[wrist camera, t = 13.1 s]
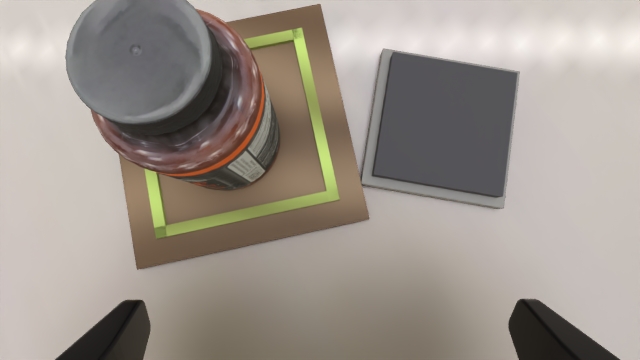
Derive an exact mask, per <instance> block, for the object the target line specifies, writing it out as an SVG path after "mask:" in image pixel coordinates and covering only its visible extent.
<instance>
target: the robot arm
mask: <svg viewBox="0 0 640 360" xmlns="http://www.w3.org/2000/svg"><path fill="white" fill-rule="evenodd" d="M508 325H509V332H510V335H511V338H512V341H513V344H514V347H515V349H516V352H517V355H518V358H519V360H620V359H619V358H617V357H616V356H615V355H613V354H612V353H610V352H609V351H608V350H606V349H605V348H604V347H602V346H601V345H599V344H598V343H597V342H595V341H594V340H593V339H591V338H590V337H588V336H587V335H586V334H584V333H583V332H582V331H580V330H579V329H577V328H576V327H575V326H573V325H572V324H571V323H569V322H568V321H567V320H565V319H564V318H562V317H561V316H560V315H558V314H557V313H556V312H554V311H553V310H551V309H550V308H549V307H547V306H546V305H545V304H543V303H542V302H540V301H539V300H537V299H520V300H518V301H517V303H516V305H515V308H514V310H513V312H512V315H511V317H510V319H509V324H508ZM149 334H150V320H149V317H148V313H147V309H146V306H145V303H144V302H143V301H142V300H125V301H123V302H121V303H120V304H119V305H118V306H117V307H115V308H114V309H113V310H112V311H111V312H110V313H108V314H107V315H106V316H105V317H104V318H103V319H102V320H100V321H99V322H98V323H97V324H96V325H95V326H93V327H92V328H91V329H90V330H89V331H88V332H86V333H85V334H84V335H83V336H82V337H81V338H79V339H78V340H77V341H76V342H75V343H74V344H73V345H71V346H70V347H69V348H68V349H67V350H66V351H64V352H63V353H62V354H61V355H60V356H59V357H57V358H56V359H55V360H143V358H144V354H145V350H146V346H147V342H148V338H149Z"/></svg>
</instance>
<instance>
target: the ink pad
mask: <svg viewBox="0 0 640 360" xmlns="http://www.w3.org/2000/svg"><path fill="white" fill-rule="evenodd" d="M519 74H520V72H519V71H514V70H508V69H502V68H496V67H490V66H484V65H478V64H472V63H466V62H460V61H454V60H449V59H443V58H437V57H431V56H425V55H419V54H413V53H407V52H401V51H395V50H389V49H384V48H383V50H382V53H381V57H380V63H379V69H378V75H377V81H376V88H375V94H374V100H373V106H372V112H371V118H370V125H369V131H368V137H367V143H366V149H365V155H364V161H363V168H362V174H361V184H362V185H363V186H369V187H375V188H380V189H386V190H392V191H398V192H403V193H409V194H415V195H421V196H426V197H432V198H438V199H444V200H450V201H455V202H461V203H467V204H473V205H478V206H484V207H490V208H496V209H500V208H504V203H505V194H506V186H507V177H508V169H509V160H510V151H511V143H512V134H513V126H514V117H515V109H516V100H517V91H518V83H519Z"/></svg>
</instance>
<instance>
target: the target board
mask: <svg viewBox="0 0 640 360" xmlns="http://www.w3.org/2000/svg"><path fill="white" fill-rule="evenodd" d="M226 23H227V24H229V25H230V26H231V27H232V28H233V29H234V30H235V31H236V32H237V33H238V34H239V35H240V36H241V37H242V38H243V40H244V41H245V42H246V44H247V45H248V47H249V48H250V50H251V52H252V53H253V55H254V57H255V59H256V62H257V64H258V67H259V69H260V72H261V74H262V77H263V80H264V83H265V85H266V88H267V91H268V94H269V97H270V99H271V102H272V105H273V107H274V111H275V113H276V116H277V119H278V123H279V129H280V147H279V151H278V155H277V157H276V160H275V162H274V163H273V165H272V167H271V168H270V170H269V171H268V172H267V173H266V174H265V175H264V176H263V177H262V178H261V179H259V180H258V181H256V182H255V183H253V184H252V185H250V186H247V187H245V188H242V189H237V190H231V191H223V190H213V189H207V188H205V187H201V186H198V185H195V184H192V183H189V182H186V181H183V180H179V179H175V178H172V177H169V176H166V175H162V174H160V173H157V172H154V171H150V170H147V169H145V168H142V167H139V166H138V165H136V164H134V163H132V162H130V161H128V160H126V159H124V157H122V156H121V155H120V154H119V158H120V164H121V171H122V177H123V183H124V190H125V196H126V202H127V209H128V215H129V222H130V228H131V234H132V241H133V247H134V254H135V260H136V266H137V269H142V268H146V267H151V266H156V265H160V264H165V263H169V262H174V261H179V260H183V259H188V258H192V257H197V256H202V255H206V254H211V253H215V252H220V251H225V250H229V249H234V248H239V247H243V246H248V245H252V244H257V243H262V242H266V241H271V240H275V239H280V238H285V237H289V236H294V235H298V234H303V233H308V232H312V231H317V230H321V229H326V228H331V227H335V226H340V225H345V224H349V223H354V222H358V221H363V220H368V219H369V215H368V210H367V206H366V202H365V197H364V193H363V188H362V184H361V180H360V175H359V171H358V167H357V162H356V158H355V153H354V149H353V145H352V140H351V136H350V132H349V127H348V123H347V119H346V114H345V110H344V105H343V101H342V97H341V92H340V88H339V84H338V79H337V75H336V70H335V66H334V62H333V57H332V53H331V49H330V44H329V40H328V35H327V31H326V27H325V22H324V18H323V14H322V9H321V5H320V4H317V5H312V6H307V7H302V8H297V9H292V10H287V11H282V12H277V13H271V14H266V15H261V16H256V17H251V18H246V19H241V20H236V21H231V22H226Z"/></svg>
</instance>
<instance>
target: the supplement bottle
mask: <svg viewBox="0 0 640 360" xmlns="http://www.w3.org/2000/svg"><path fill="white" fill-rule="evenodd" d="M65 58H66V70H67V74H68V77H69V80H70V82H71V84H72V86H73V88H74V90H75V92H76V93H77V95H78V96H79V97H80V99H81V100H82V101H83V102H84V103H85V104H86V105H87V106H88V107H89V108H90V109H91V112H92V116H93V119H94V122H95V124H96V126H97V127H98V129H99V131H100V133H101V135H102V136H103V138H104V139H105V141H106V142H107V143H108V144H109V145H110V146H111V147H112V148H113V149H114V150H115V151H116V152H117V153H119V154H120V155H121V156H122V157H124V159H126V160H128V161H130V162H132V163H134V164H136V165H138V166H139V167H142V168H145V169H147V170H150V171H154V172H157V173H160V174H162V175H166V176H169V177H172V178H175V179H179V180H183V181H186V182H189V183H192V184H195V185H198V186H201V187H205V188H207V189H213V190H223V191H231V190H237V189H242V188H245V187H247V186H250V185H252V184H253V183H255V182H256V181H258V180H259V179H261V178H262V177H263V176H264V175H265V174H266V173H267V172H268V171H269V170H270V168H271V167H272V165H273V163H274V162H275V160H276V157H277V155H278V151H279V147H280V129H279V123H278V119H277V116H276V113H275V111H274V107H273V105H272V102H271V99H270V97H269V94H268V91H267V88H266V85H265V83H264V80H263V77H262V74H261V72H260V69H259V67H258V64H257V62H256V59H255V57H254V55H253V53H252V52H251V50H250V48H249V47H248V45H247V44H246V42H245V41H244V40H243V38H242V37H241V36H240V35H239V34H238V33H237V32H236V31H235V30H234V29H233V28H232V27H231V26H230V25H229V24H227V23H226V22H224V21H223V20H221V19H219V18H218V17H216V16H214V15H212V14H210V13H207V12H204V11H201V10H198V9H195V8H194V7H193V6H192V5H191V4H190V3H189V2H188V1H186V0H96V1H94V2H93V3H92V4H91V5H90V6H89V7H88V8H87V9H86V10H85V11H83V12H82V14H81V15H80V17H79V19H78V20H77V21H76V23H75V25H74V27H73V29H72V31H71V33H70V37H69V39H68V42H67V49H66V57H65Z"/></svg>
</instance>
